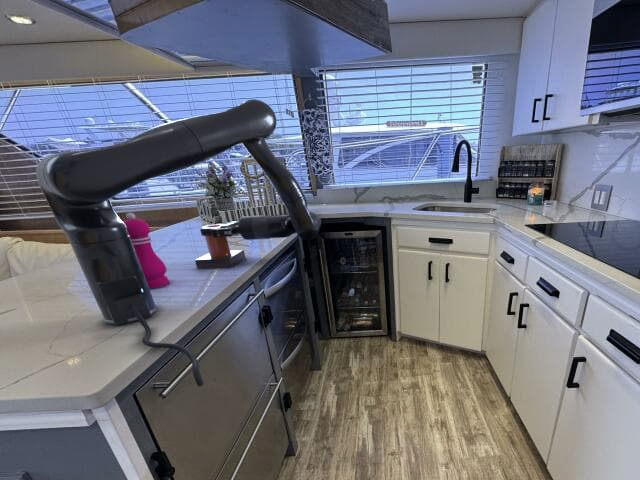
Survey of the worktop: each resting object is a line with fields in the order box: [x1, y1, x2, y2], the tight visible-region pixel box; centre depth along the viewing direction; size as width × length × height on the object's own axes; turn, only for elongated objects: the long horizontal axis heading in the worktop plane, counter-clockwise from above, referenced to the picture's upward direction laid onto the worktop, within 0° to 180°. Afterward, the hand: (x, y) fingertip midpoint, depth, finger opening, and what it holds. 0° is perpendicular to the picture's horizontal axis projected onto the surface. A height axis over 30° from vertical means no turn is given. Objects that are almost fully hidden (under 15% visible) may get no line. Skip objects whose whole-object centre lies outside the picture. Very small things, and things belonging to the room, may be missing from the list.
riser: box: [194, 249, 246, 270], centre depth 108 cm, size 11×11×3 cm
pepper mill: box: [122, 212, 170, 290], centre depth 87 cm, size 7×7×20 cm
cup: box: [201, 224, 231, 257], centre depth 106 cm, size 6×6×10 cm
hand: (208, 229), depth 104 cm, fingers open, 8 cm apart
